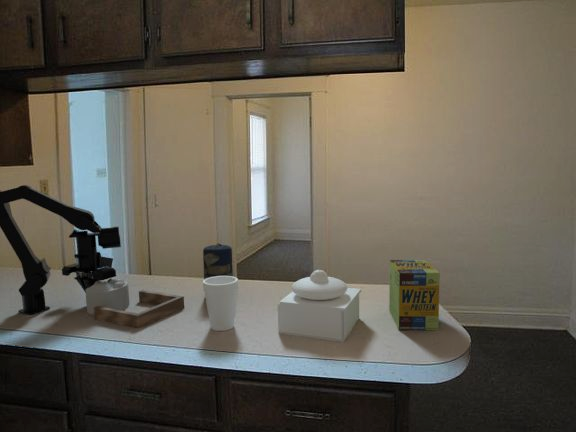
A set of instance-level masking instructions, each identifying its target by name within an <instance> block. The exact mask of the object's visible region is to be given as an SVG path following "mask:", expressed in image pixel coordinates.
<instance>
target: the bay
mask: <svg viewBox="0 0 576 432" xmlns="http://www.w3.org/2000/svg"><path fill="white" fill-rule="evenodd" d="M138 299H139V303H146V304H151V305H155V306H153V307H152V306H151V307H149V308H148V309H145V310H143V311H140V312H133V311H132V312H131V311H127V310H117V309H112V308H106V307H101V306H96V307H94V314H93V318H94V320H98V321H102V322H108V323H112V324H117V325H121V326H127V327H132V328H136V329H140V328H142V327H144V326H146V325H149V324H151V323H153V322H155V321H158V320H160V319H162V318H164V317H166V316H168V315H171V314H173V313H175V312H177V311H179V310H181V309H184V308H185V296H183V295H176V294H171V293H164V292H158V291H157V292H156V291H151V290H146V289H145V290H143V289H141V290H138Z"/></svg>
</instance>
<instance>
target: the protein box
mask: <svg viewBox="0 0 576 432" xmlns="http://www.w3.org/2000/svg"><path fill="white" fill-rule="evenodd" d="M440 274H441V273H440V271H438V270H437V269H436V268H435V267H434V266H433V265H432V264H430V263H429V262H428V261H427V260H426V259H425V260H423V259H422V260H421V259H390V260H389V280H388V281H389V289H388V290H389V292H388V293H389V295H388V296H389V297H388V302H389V303H388V305H389V306H388V309H389V313H390V315H391V318H392V320H393V322H394V324H395V325H396V327H397V329H398V331H439V321H440V320H439V319H440V318H439V314H440V311H439V310H440Z"/></svg>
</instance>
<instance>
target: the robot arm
mask: <svg viewBox="0 0 576 432" xmlns="http://www.w3.org/2000/svg"><path fill="white" fill-rule="evenodd" d="M19 200H25V201H28V202H29V203H32V204H34V205H36V206H38V207H41V208H42V209H45V210H47V211H49V212H51V213H53V214H55V215H57V216H59V217H61V218H63V219H64V220H65V221H66V222H68V223H69V224H70V225H72V226H73V227H75V228H73V230H72V232H71V233H70V234H69V236H68V238H70V239H72V238H75V241H76V242H75V243H76V252H77V253H75V254H74V259H77V262H76V263H72V264H71V263H70V264H68V265H64V266H63V267H62V269H61V273H62V275H61V276H67V277H68V276H69V277H70V275H71V274H72V273H75V277H74V278H73V279H74V280H76V281H77V283H78V284H79V286H80V287H81V288H82V290H83V292H84V293H85V294H86V292H85V290H86V288H88V287H91V286H92V285H94V284H95V282H96V281H98V280H100V281H101V280H102V281H106V280H109V279H111V278H115V277H117V270H116V269H115V268H114V267H113V261H114V258H112V257H108V256H102V255H101V251H98V249H97V246H98V247H100V248H102V249H103V250H105V249H115V248H122V245H121V244H122V243H121V235H120V229H119V226H112V227H102V226H101V225H100V224H99V223H98V222H97V221H96V220H95V215H94V214H93V212H91V211H89V210H86V209H84V208H81V207H75V206H72V205H69V204H67V203H64V202H62V201H60V200H58V199H56V198H54V197H52V196H50V195H48V194H45V193H43V192H42V191H39V190H37V189H36V188H33V187H32V186H30V185H28V184H23V185H20V186H18V187H15V188H9V189H7V190H0V229H1V231H2V232H3V234H4V237H5V238H6V239H7V241H8V242H9V244H10V246H11V248H12V250H13V252H14V253H15V254H16V257H17V258H18V260H19V262H20V264H21V268H22V273H23V276H24V278H25V281H24V282H23V283H22V285H21V286H20V287H19V289H18V292H19V293H20V296H21V298H22V299H21V300H22V309H18V313H21V314H26V315H31V316H32V315H34V314H38V313H40V312H43V311H47V310H49V309H51V307H50V306H49V305H46V298H45V296H46V295H45V291H44V289H43V288H44V287H45V285H46V284H47V283H48V282H49V280H50V276H51V269H52V268H51V267H50V266H49V265H48V263H47V261H46V258H45V257H43V258H42V259H39V258H38V256H37V255H35V253H34V251H33V249H32V248H31V245H30V243H28V241H27V239H26V238H25V235H24V234H23V232H22V230H21V229H20V227H19V225H18V224H17V222H16V220H15V218H14V216H13V213H12V209H11V205H10V203H12V202H15V201H19ZM78 230H79V231H78ZM88 231H89V232H90V233H89V232H88ZM96 237H97V238H96ZM96 239H97V240H96ZM97 244H98V245H97Z"/></svg>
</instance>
